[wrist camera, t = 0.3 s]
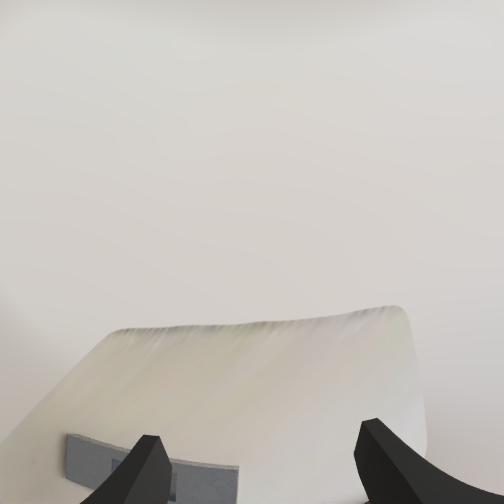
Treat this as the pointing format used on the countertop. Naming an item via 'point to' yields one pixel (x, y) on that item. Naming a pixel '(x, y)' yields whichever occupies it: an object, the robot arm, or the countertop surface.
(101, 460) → the rail
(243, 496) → the countertop surface
